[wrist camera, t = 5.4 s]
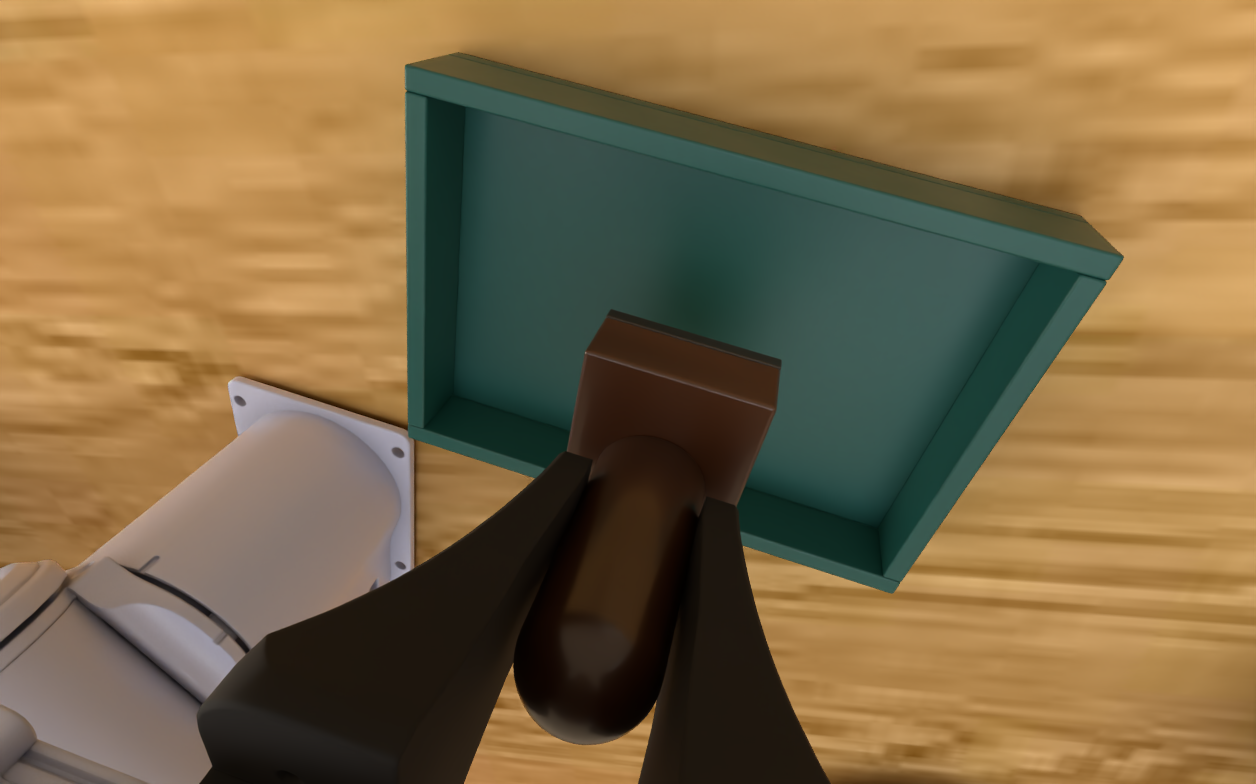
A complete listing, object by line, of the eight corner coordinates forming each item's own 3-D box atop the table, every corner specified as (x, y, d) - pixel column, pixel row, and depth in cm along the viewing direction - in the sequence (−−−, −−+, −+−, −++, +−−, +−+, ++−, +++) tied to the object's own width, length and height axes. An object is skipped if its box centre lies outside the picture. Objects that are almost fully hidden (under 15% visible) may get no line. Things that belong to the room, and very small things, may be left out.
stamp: (714, 529, 18) (653, 851, 11) (575, 484, 18) (438, 770, 12) (782, 359, 14) (750, 674, 8) (610, 307, 15) (447, 569, 8)
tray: (885, 532, 23) (893, 595, 21) (445, 393, 24) (407, 437, 22) (1083, 215, 16) (1126, 257, 14) (457, 51, 18) (403, 63, 15)
